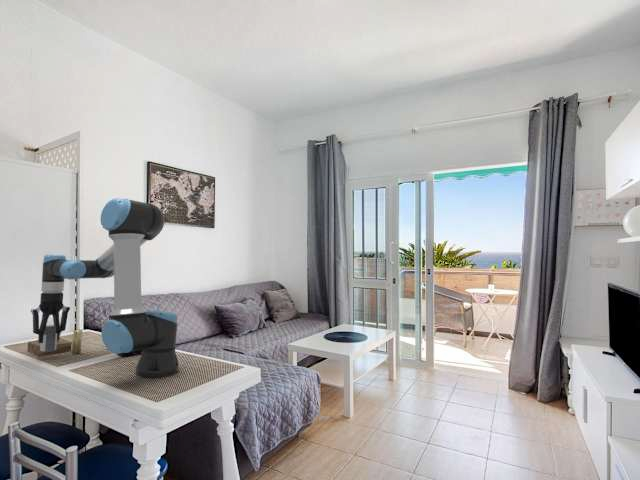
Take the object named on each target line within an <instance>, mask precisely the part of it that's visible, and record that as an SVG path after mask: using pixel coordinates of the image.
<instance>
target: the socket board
mask: <svg viewBox="0 0 640 480" xmlns="http://www.w3.org/2000/svg"><path fill="white" fill-rule="evenodd" d="M40 345H41V343H39V342H38V340H34V341H33V340H31V341H28V342H27V352H28V351H29V352H28V353H30V352H31V353H30V354H32V353H33V354H32V355H34V354H35V355H34V356H36V355H37V356H36V357H45V356H46V357H47V356H51V355H52V356H53V355H56V354H64V353H70V352H71V353H72V345H73V341H72V342H71V341H69V340H67V339H64V338H61V337H59V341H57V345H56V350H55V351H50V352H43V351H40Z"/></svg>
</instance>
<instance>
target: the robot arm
mask: <svg viewBox="0 0 640 480" xmlns="http://www.w3.org/2000/svg"><path fill="white" fill-rule="evenodd" d="M100 224H101V226H102V228H103V229H104V230H106V231H108V238H110V239H111V240H112V241H113V244H112V245H111V246H110V247H109V248H107V250H105V251H104V252H103V253H102V254H100V255H99V257H97V259H95V260H93V259H92V260H90V259H87V260H82V259H77V260H76V259H67V257H66V255H64V254H45V255H44V256H43V261H42V273H41V274H42V275H41V276H42V277H41V290H40V291H41V293H40V301H39V305H38V307H36V308H32V309H30V312H31V314H32V332H33V334H34V335H38V338H37V339H38V340H37V341H38V342H39V343H41V345H40V351H43V352H44V351H45V345H46V335H45V334H44V332H45V328H46V325H47V321H48V318H49V315H52V316H53V321H54V326H56V336H55V350H56V345H57V341H59V338H61V335H60V333H61V332H65V331H66V328H67V320H68V315H69V314H68V313H69V312H70V310H71V307H70V306H66V305H64V303H63V300H64V293H63V292H64V289H65V280H79V279H106V278H112V277H113V292H114V293H113V295H114V297H113V299H114V301H113V303H114V305H113V306H114V308H113V310H112V311H111V312H110V313H109V320H107V321H105V322H104V324H103V326H102V328H101V340H102V342H103V345H104V346H105V348H106V349H107V350H108V351H109V352H110V353H112V354H116V355H117V354H120V353H128V352H131V351H134V350H139V349H143V350H142V353H140V357H139V360H138V362H137V365H136V368H135V375H136V376H138V377H140V378H144V379H145V378H147V379H159V378H160V379H161V378H166V377H167V378H168V377H170V376H173V374H174V375H176V374H178V373H179V371H180V370H179V369H180V363H179V360H178V355H177V353H176V343H177V332H178V325H179V324H178V323H179V322H178V315H177V313H175V312H171V311H166V310H165V311H164V310H146V309H145V308H143V306H142V270H141V269H142V265H141V264H142V261H141V247H142V246H143V245H144V244H145V243H147V242H149V241H152V240H154V239H155V238H156V237H158V235H159V234H160V233H161V232H162V230H163V229H164V226H165V216H164V213H163V211H162V210H161V209H160V208H159V207H158V206H157V205H155V204H152V203H149V202H142V201H137V200H133V199H128V198H120V197H119V198H118V197H115V198H113V199H111V200H108V201H107V203H106V204H105V205H104V206H103V208H102V211H101V214H100ZM40 311H41V313H42V315H41V321H40V315H39V313H40ZM60 311H62V312H61V316H60V317H61V323H59V315H60ZM61 334H62V333H61ZM178 370H179V371H178ZM175 373H176V374H175Z"/></svg>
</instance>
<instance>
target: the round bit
mask: <svg viewBox="0 0 640 480" xmlns="http://www.w3.org/2000/svg"><path fill="white" fill-rule="evenodd" d="M72 333H73V334H72V335H73V337H72V345H71V355H72V356H73V355H74V356H75V355H80V354H81V351H82V342H83V329H74V330H73V332H72Z"/></svg>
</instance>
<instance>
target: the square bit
mask: <svg viewBox="0 0 640 480" xmlns="http://www.w3.org/2000/svg"><path fill="white" fill-rule="evenodd" d="M44 334H45V335H46V345H45V351H44V352H50V351H55V336H56V326H54V325H49V326H46V328H45V332H44Z"/></svg>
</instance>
